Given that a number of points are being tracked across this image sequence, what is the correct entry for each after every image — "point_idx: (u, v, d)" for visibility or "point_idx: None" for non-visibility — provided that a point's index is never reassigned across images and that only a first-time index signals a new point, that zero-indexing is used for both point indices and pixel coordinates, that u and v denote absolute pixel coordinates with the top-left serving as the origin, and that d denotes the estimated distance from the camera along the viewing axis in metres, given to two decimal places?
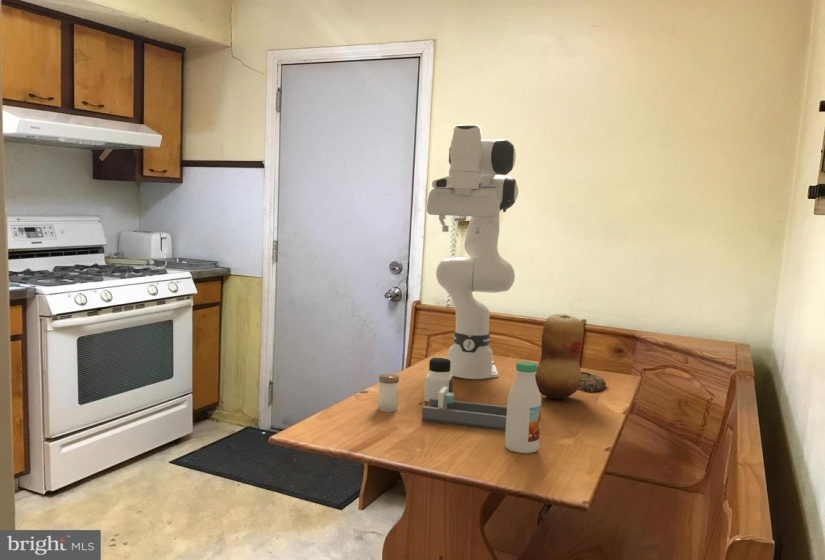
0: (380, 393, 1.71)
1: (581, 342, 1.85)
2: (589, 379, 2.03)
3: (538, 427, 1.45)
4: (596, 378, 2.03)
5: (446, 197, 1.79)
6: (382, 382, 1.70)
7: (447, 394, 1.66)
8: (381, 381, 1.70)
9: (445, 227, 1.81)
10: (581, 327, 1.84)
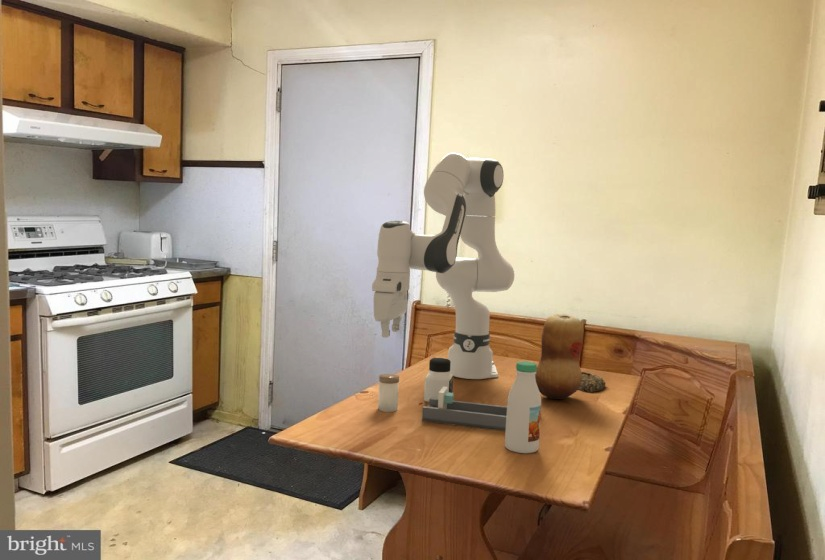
0: (380, 393, 1.71)
1: (581, 342, 1.85)
2: (589, 379, 2.03)
3: (538, 427, 1.45)
4: (596, 378, 2.03)
5: (393, 300, 1.65)
6: (382, 382, 1.70)
7: (447, 394, 1.66)
8: (381, 381, 1.70)
9: (389, 332, 1.66)
10: (581, 327, 1.84)
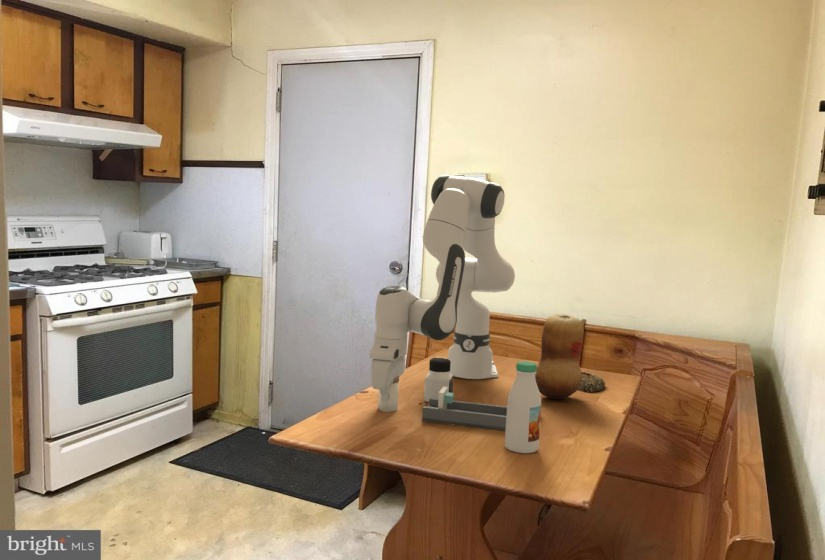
0: (380, 393, 1.71)
1: (581, 342, 1.85)
2: (589, 379, 2.02)
3: (538, 427, 1.45)
4: (595, 378, 2.03)
5: (390, 366, 1.67)
6: None
7: (447, 394, 1.66)
8: None
9: (388, 396, 1.69)
10: (581, 327, 1.84)
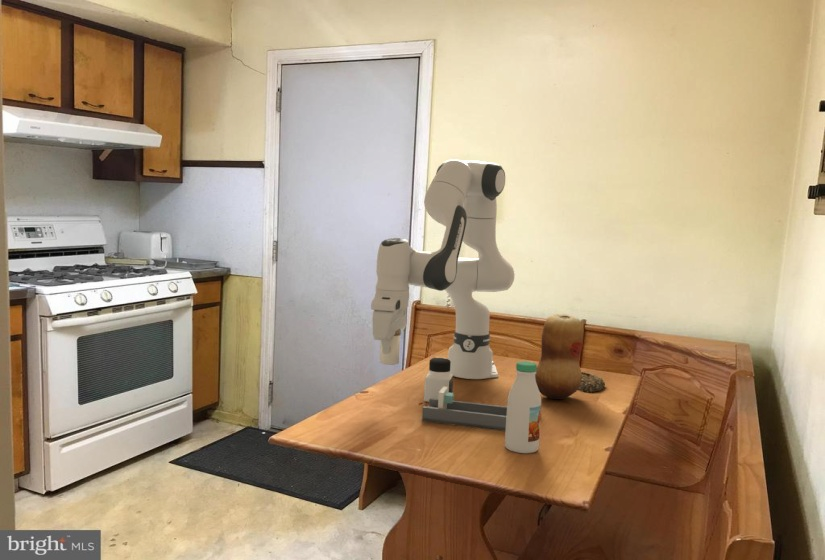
0: None
1: (581, 342, 1.85)
2: (589, 379, 2.02)
3: (538, 427, 1.45)
4: (595, 378, 2.03)
5: (392, 318, 1.66)
6: None
7: (447, 394, 1.66)
8: None
9: (390, 349, 1.68)
10: (581, 327, 1.84)
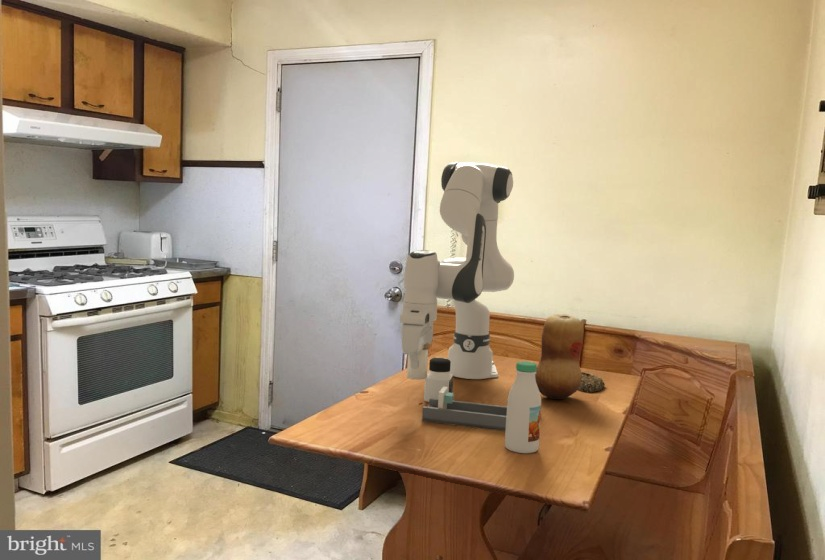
0: (409, 360, 1.66)
1: (581, 342, 1.85)
2: (588, 379, 2.02)
3: (538, 427, 1.45)
4: (595, 378, 2.03)
5: (420, 332, 1.62)
6: None
7: (447, 394, 1.66)
8: None
9: (418, 363, 1.64)
10: (581, 327, 1.84)
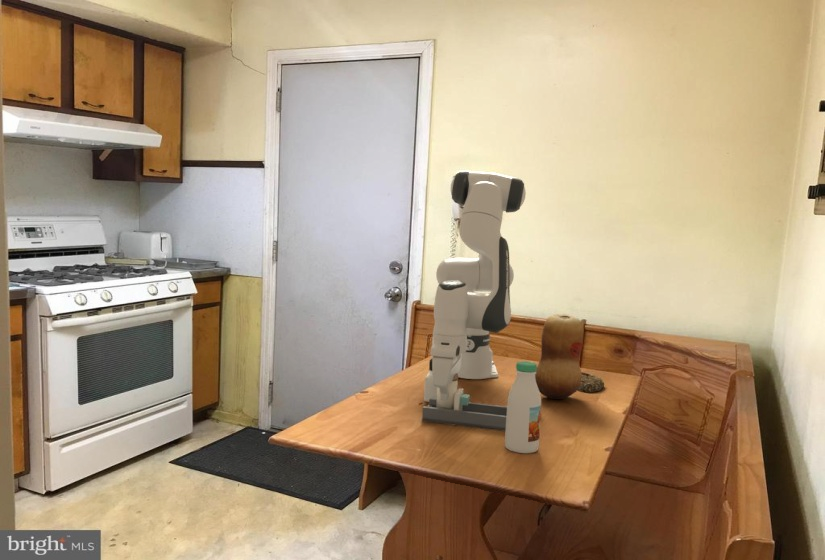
0: (439, 391, 1.65)
1: (581, 342, 1.85)
2: (588, 379, 2.02)
3: (538, 427, 1.45)
4: (594, 378, 2.03)
5: None
6: None
7: (463, 396, 1.65)
8: None
9: None
10: (581, 327, 1.84)
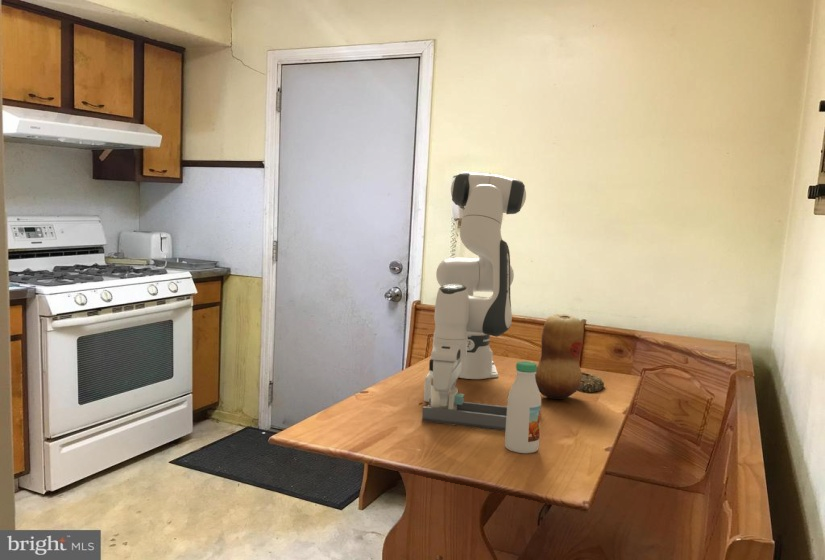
0: (433, 397, 1.66)
1: (581, 342, 1.85)
2: (588, 379, 2.02)
3: (538, 427, 1.45)
4: (594, 378, 2.03)
5: None
6: None
7: (457, 395, 1.66)
8: None
9: (447, 400, 1.62)
10: (581, 327, 1.84)
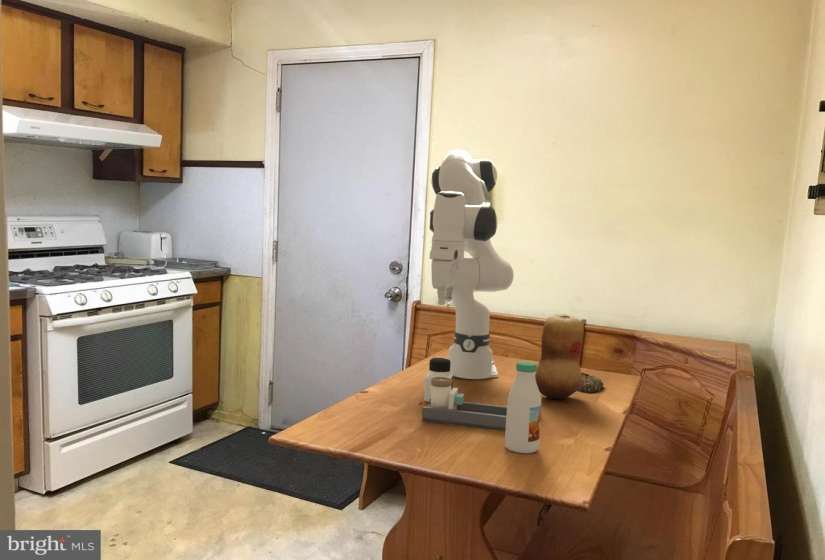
0: (433, 397, 1.66)
1: (581, 342, 1.85)
2: (587, 379, 2.02)
3: (538, 427, 1.45)
4: (594, 379, 2.02)
5: None
6: (435, 386, 1.65)
7: (457, 395, 1.66)
8: (434, 385, 1.65)
9: (445, 300, 1.69)
10: (581, 327, 1.84)
